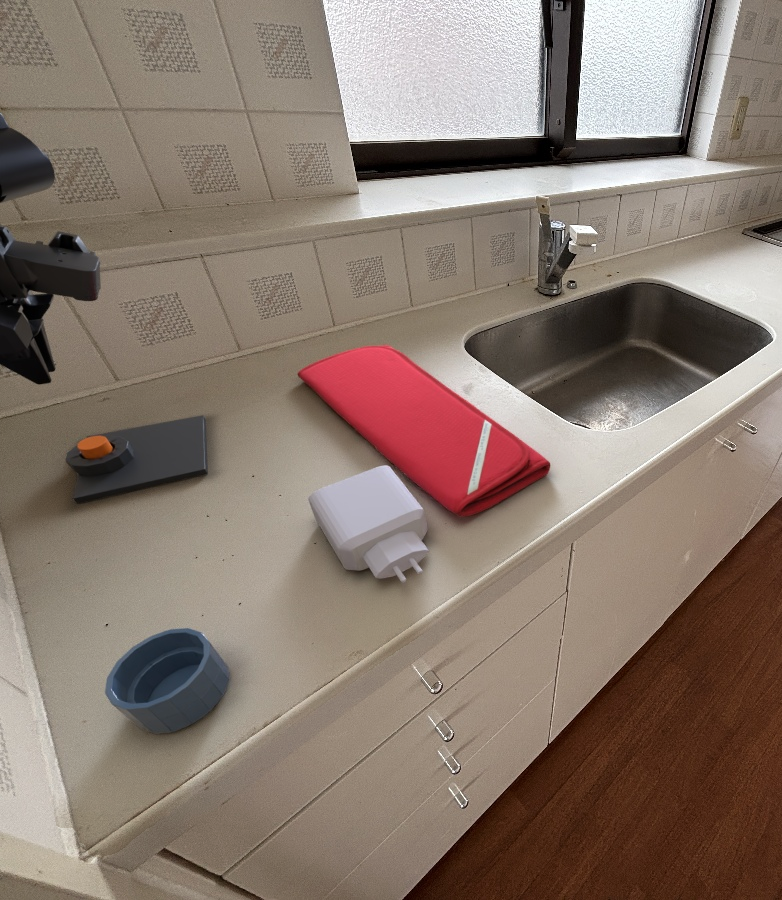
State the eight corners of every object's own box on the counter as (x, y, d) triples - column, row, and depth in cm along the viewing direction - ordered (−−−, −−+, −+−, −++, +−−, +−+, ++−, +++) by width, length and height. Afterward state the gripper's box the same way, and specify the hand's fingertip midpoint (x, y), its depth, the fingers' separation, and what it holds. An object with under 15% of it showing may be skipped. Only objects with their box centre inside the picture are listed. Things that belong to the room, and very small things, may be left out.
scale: (70, 505, 55) (57, 489, 53) (84, 442, 62) (73, 427, 61) (207, 474, 61) (199, 459, 59) (206, 420, 68) (198, 405, 66)
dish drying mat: (392, 352, 87) (388, 333, 85) (553, 472, 68) (554, 451, 66) (298, 381, 77) (291, 361, 75) (456, 531, 58) (454, 509, 56)
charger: (371, 615, 49) (316, 522, 57) (455, 569, 54) (394, 490, 62) (362, 587, 46) (305, 493, 54) (452, 541, 51) (389, 462, 59)
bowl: (134, 752, 38) (100, 725, 35) (140, 679, 42) (109, 649, 39) (233, 710, 41) (210, 682, 38) (229, 646, 45) (208, 616, 42)
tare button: (82, 462, 57) (75, 451, 56) (85, 448, 59) (78, 438, 58) (112, 456, 58) (105, 446, 57) (114, 443, 60) (107, 433, 59)
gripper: (47, 250, 40) (139, 408, 50) (79, 189, 52) (149, 327, 61) (-169, 261, 35) (-18, 435, 45) (-79, 191, 46) (24, 341, 56)
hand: (47, 377), depth 52 cm, fingers closed
